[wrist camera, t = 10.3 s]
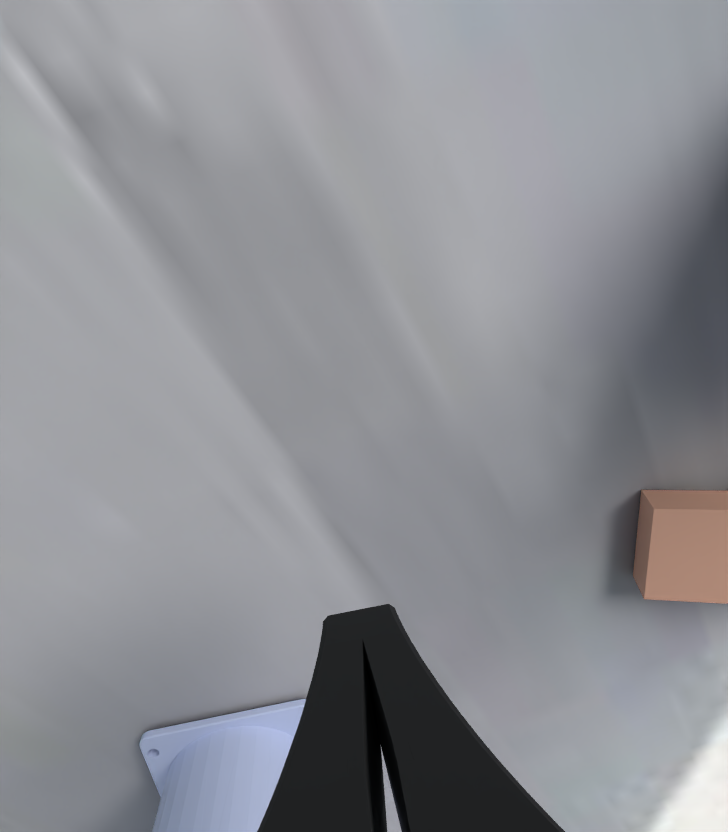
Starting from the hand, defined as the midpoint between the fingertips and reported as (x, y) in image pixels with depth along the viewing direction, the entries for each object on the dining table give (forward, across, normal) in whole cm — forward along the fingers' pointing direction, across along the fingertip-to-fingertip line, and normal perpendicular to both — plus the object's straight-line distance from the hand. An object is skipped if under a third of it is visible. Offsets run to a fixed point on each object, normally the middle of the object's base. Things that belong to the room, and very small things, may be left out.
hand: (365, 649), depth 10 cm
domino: (+9, -13, +6) cm, 17 cm away
